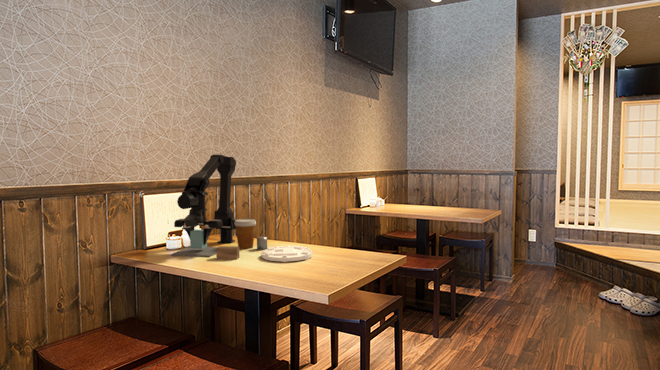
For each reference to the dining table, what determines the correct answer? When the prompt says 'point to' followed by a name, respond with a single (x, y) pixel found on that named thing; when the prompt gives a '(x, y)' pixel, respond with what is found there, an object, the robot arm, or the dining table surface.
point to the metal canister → (261, 243)
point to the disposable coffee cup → (245, 232)
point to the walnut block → (227, 252)
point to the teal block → (197, 239)
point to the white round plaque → (287, 253)
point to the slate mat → (196, 252)
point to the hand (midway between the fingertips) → (198, 244)
